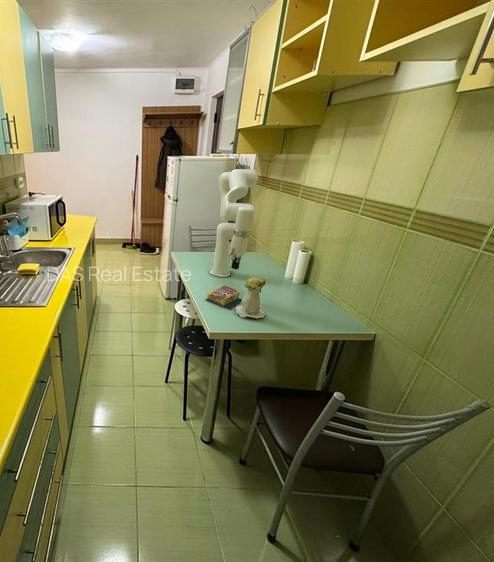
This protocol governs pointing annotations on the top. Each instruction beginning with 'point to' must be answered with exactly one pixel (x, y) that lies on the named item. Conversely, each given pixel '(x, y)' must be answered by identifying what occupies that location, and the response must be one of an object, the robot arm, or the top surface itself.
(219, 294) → the candy box
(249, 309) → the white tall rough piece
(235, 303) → the mat
